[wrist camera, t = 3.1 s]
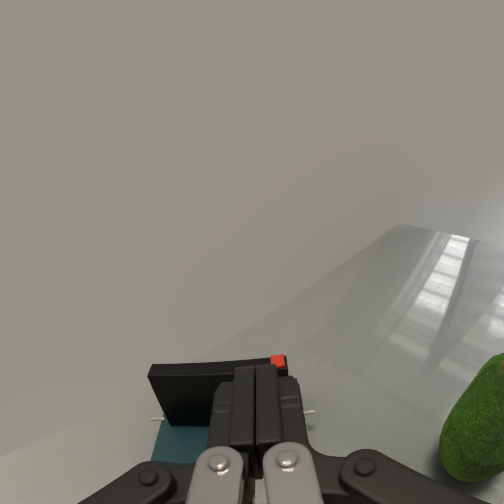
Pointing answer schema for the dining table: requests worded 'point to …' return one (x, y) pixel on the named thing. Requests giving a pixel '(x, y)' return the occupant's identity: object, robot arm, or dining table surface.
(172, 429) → the teal base plate
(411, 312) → the dining table surface
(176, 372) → the red-tipped black panel
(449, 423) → the avocado
